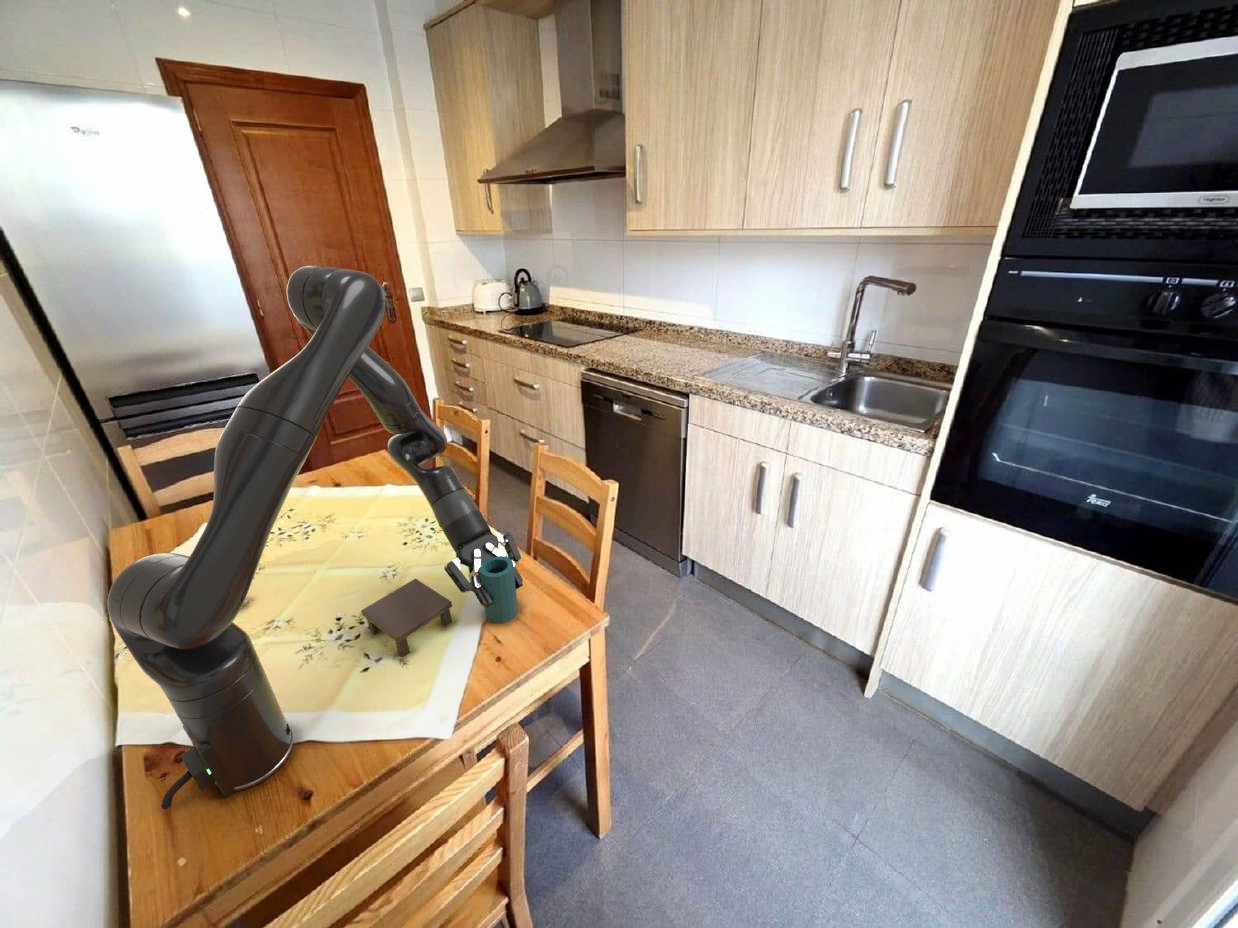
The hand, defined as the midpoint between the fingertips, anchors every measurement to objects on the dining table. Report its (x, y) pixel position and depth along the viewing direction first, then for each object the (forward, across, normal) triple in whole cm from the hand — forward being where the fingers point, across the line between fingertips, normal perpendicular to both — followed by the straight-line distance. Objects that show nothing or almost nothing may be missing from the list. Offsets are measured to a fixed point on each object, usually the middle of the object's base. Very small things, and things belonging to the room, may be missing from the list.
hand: (505, 596), depth 93 cm
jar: (+2, 0, +5) cm, 5 cm away
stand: (-4, -13, +11) cm, 18 cm away
